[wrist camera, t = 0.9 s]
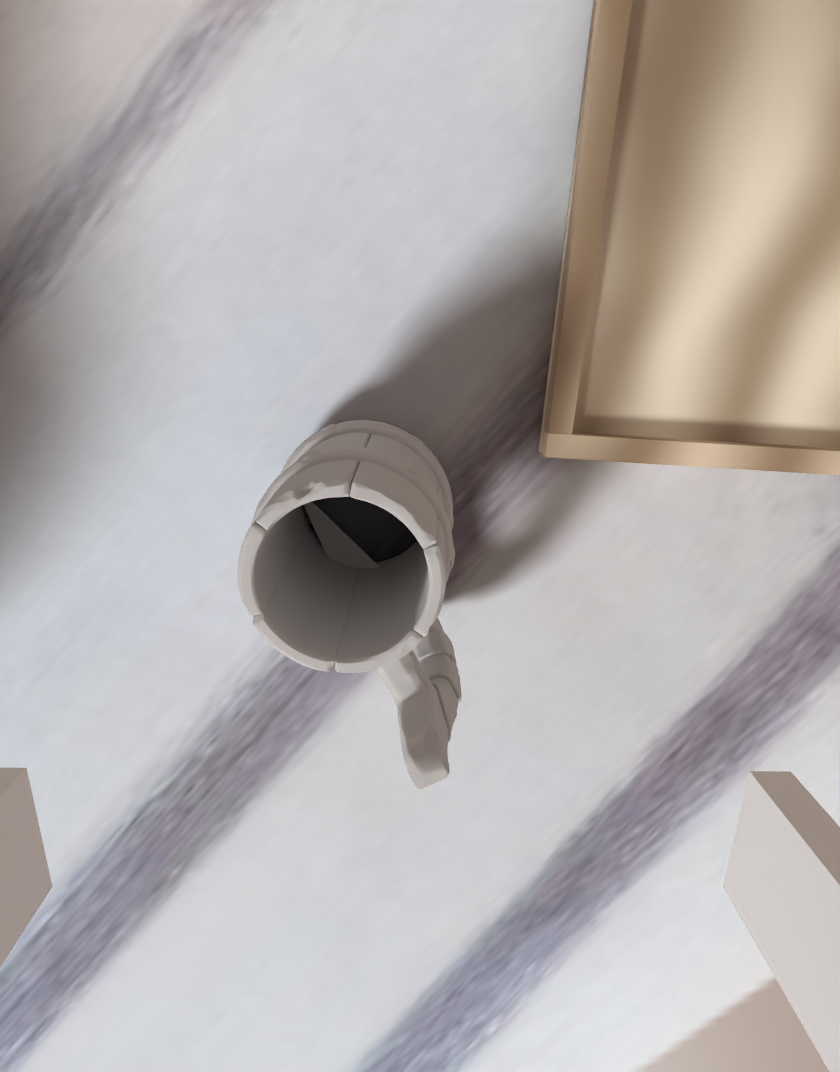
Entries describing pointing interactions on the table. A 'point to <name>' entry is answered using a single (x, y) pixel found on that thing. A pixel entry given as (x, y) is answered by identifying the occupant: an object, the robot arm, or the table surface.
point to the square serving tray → (703, 241)
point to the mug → (362, 577)
